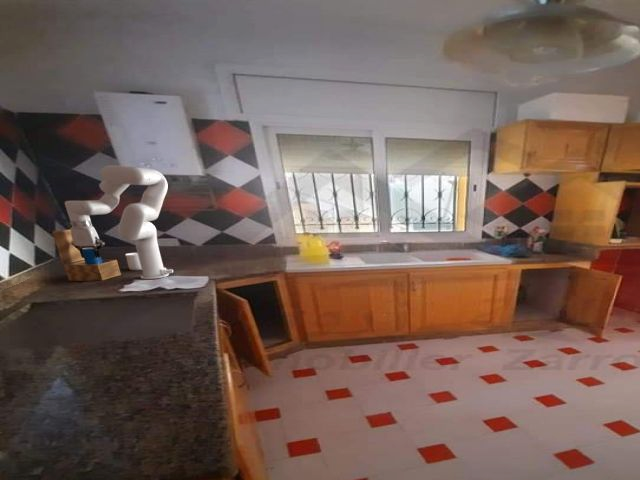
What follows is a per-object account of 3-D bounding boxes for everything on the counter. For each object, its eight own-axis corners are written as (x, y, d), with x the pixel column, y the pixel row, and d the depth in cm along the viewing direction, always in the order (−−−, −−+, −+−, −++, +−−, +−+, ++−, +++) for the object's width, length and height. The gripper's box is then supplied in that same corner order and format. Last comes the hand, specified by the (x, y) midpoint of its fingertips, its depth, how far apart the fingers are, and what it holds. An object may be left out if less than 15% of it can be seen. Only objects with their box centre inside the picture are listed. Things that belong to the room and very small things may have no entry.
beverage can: (93, 271, 173) (86, 249, 170) (84, 270, 175) (77, 248, 171) (107, 268, 179) (100, 247, 176) (98, 267, 181) (91, 247, 177)
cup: (126, 269, 198) (121, 254, 195) (145, 266, 206) (141, 251, 203) (133, 271, 193) (129, 255, 190) (152, 268, 202) (148, 252, 199)
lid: (76, 228, 175) (66, 228, 175) (54, 231, 163) (43, 231, 163) (85, 259, 181) (76, 259, 180) (64, 264, 169) (53, 264, 168)
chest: (121, 274, 185) (116, 260, 182) (102, 280, 173) (97, 264, 171) (90, 275, 184) (85, 260, 181) (69, 280, 172) (63, 265, 169)
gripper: (57, 225, 165) (68, 258, 171) (93, 225, 167) (103, 258, 172) (70, 223, 172) (81, 256, 178) (105, 223, 174) (114, 255, 179)
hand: (92, 257), depth 175 cm, fingers closed on beverage can, 6 cm apart
